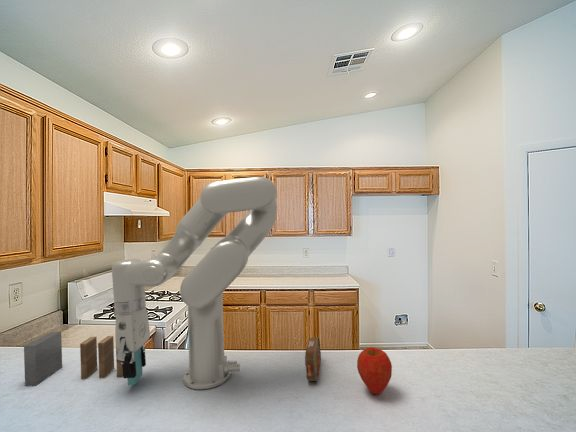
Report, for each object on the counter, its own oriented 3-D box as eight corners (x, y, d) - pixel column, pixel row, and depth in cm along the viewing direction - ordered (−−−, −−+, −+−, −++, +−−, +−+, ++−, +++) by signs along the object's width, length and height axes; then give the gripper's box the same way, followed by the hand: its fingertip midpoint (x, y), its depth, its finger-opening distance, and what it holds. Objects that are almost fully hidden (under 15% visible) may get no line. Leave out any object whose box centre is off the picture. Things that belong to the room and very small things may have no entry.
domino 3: (131, 368, 91) (130, 335, 91) (122, 376, 86) (121, 342, 86) (125, 368, 91) (124, 335, 91) (116, 377, 86) (115, 342, 86)
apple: (350, 388, 77) (349, 345, 77) (377, 379, 80) (375, 339, 80) (372, 407, 69) (371, 360, 69) (400, 397, 73) (399, 352, 73)
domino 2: (114, 368, 91) (113, 335, 91) (104, 377, 86) (103, 342, 86) (108, 369, 91) (107, 336, 91) (99, 378, 86) (98, 343, 86)
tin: (316, 388, 78) (315, 355, 78) (304, 387, 78) (303, 354, 78) (321, 360, 92) (320, 332, 92) (311, 359, 93) (310, 332, 93)
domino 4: (142, 375, 84) (140, 339, 84) (134, 385, 79) (131, 347, 79) (136, 375, 84) (134, 340, 84) (128, 385, 79) (125, 347, 79)
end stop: (62, 367, 93) (61, 331, 93) (36, 385, 83) (35, 345, 83) (52, 367, 93) (51, 332, 93) (25, 386, 83) (23, 346, 83)
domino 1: (97, 369, 91) (96, 336, 91) (86, 378, 86) (85, 343, 86) (92, 369, 91) (91, 336, 91) (81, 378, 86) (80, 343, 86)
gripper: (128, 314, 73) (134, 388, 73) (156, 295, 90) (161, 356, 90) (97, 317, 73) (102, 391, 73) (131, 297, 90) (135, 358, 90)
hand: (134, 371), depth 82 cm, fingers closed on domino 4, 4 cm apart
